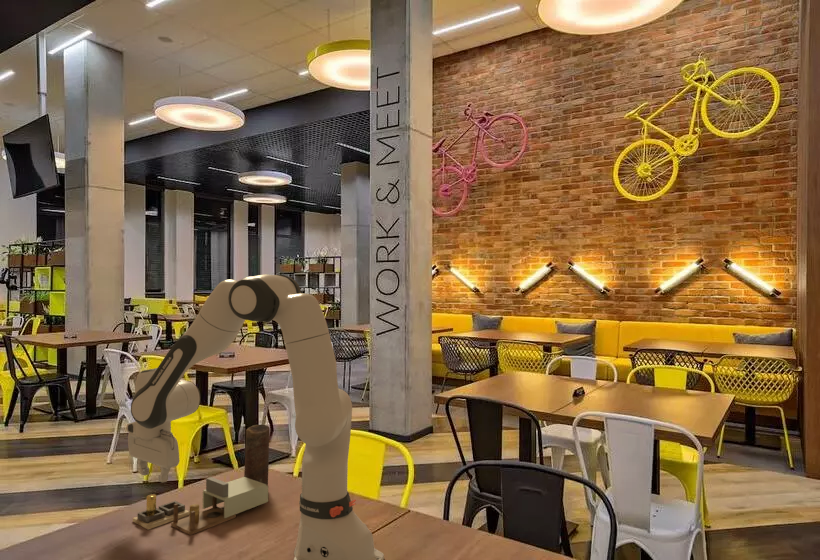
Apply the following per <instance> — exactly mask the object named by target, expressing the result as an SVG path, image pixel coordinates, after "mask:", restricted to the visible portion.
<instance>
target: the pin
mask: <svg viewBox="0 0 820 560" xmlns="http://www.w3.org/2000/svg"><path fill="white" fill-rule="evenodd" d="M156 508H157V494H148V495H147V496H146V509H145V511H146V516H151V515H154V514H156Z"/></svg>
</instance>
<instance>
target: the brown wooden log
mask: <svg viewBox="0 0 820 560" xmlns="http://www.w3.org/2000/svg"><path fill="white" fill-rule="evenodd" d="M244 447H245V449H244V451H245V453H244V472H243V475H244V476H243V477H246V478H249V479H252V480H255V481H258V482H261V483H264V484H266V485H267V486H268V487H269V459H270V456H269V455H270V426H268V425H267V424H254V425H252V426H249V427H248V428H247V429H246V430H245V446H244Z"/></svg>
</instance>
